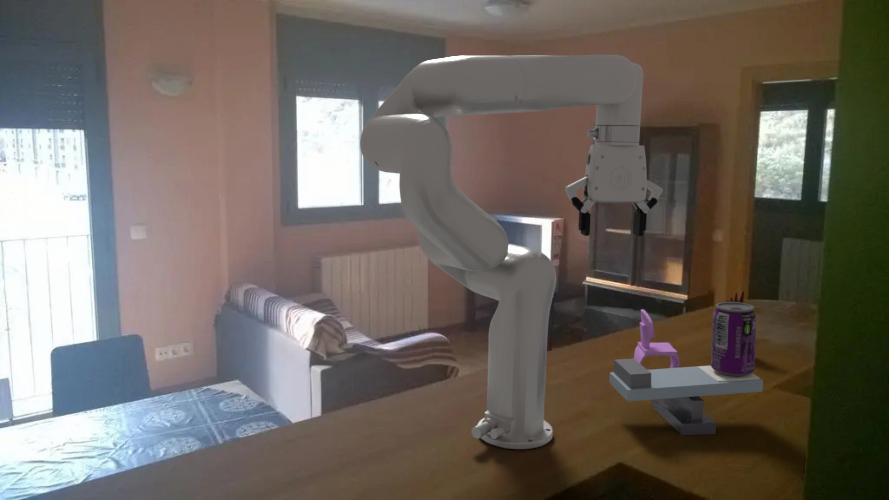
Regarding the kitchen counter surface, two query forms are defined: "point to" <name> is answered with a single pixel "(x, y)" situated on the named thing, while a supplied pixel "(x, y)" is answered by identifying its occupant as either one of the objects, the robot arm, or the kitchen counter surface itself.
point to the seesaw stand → (685, 415)
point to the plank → (676, 382)
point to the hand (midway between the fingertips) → (611, 234)
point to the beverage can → (733, 339)
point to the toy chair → (652, 348)
